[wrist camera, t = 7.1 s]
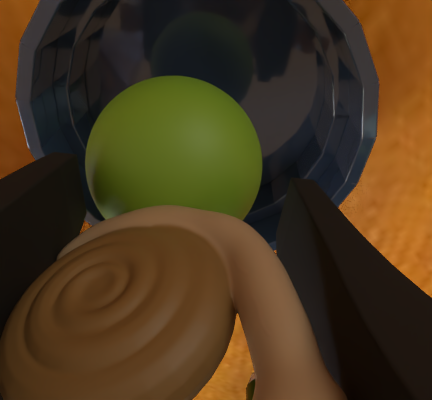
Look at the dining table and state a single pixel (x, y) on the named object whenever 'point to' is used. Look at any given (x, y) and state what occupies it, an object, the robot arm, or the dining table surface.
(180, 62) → the bowl
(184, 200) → the snail figurine
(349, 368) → the robot arm
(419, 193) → the dining table surface
